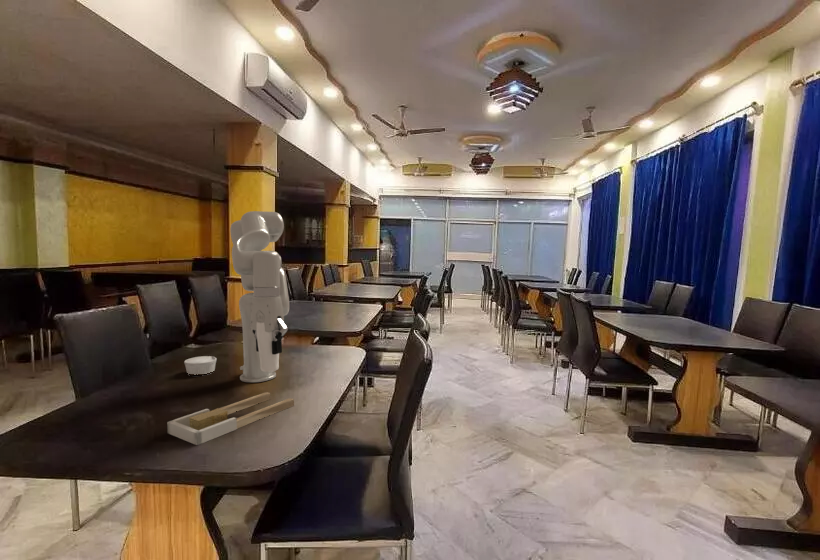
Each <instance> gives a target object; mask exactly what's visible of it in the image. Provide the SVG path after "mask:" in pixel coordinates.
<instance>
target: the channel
mask: <svg viewBox="0 0 820 560" xmlns="http://www.w3.org/2000/svg"><path fill="white" fill-rule="evenodd" d="M270 400H271V392H268V391H266V392H262V393H260V394H257V395H254V396H250V397H248V398H245V399H242V400H240V401H236V402H234V403H231V404H228V405H225V406H221V407H218V408H219V409H223V410H226V411H227V414H228V416H229V415H231V414H234V413H236V411H237V412H239V411H242V410H244V409H248V408H250V407H253V406H255V405H258V403H259V404H262V403H263V402H264V403H265V402H266V401H270ZM292 407H295V399H294V398H291V397H289V398H285V399H284V400H282V401H279V402H276V403H273V404H271V405H268V406H266V407H262V408H261V409H258V410H255V411H252V412H249V413H247V414H244V415H242V416H239V417H235V418H236V421H237V429H239V428H242V427H245V426H247V425H250V424H252V423H254V422H256V421H257V422H258V421H260V420H261V419H264V417H265V418H267V417H269V415H270V416H271V415H274V413H275V414H277V413H280V412H281V411H284V410H286V409H289V408H292ZM259 419H260V420H259Z"/></svg>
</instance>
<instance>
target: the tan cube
mask: <svg viewBox="0 0 820 560" xmlns="http://www.w3.org/2000/svg"><path fill="white" fill-rule="evenodd" d="M189 420H190V428H193V429H196V430H201V429H204V428H206V427H209V426H212V425H213V415H209V414H206V413H201V414H199V415H196V416H193V417H190V418H189Z"/></svg>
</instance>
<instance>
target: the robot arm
mask: <svg viewBox="0 0 820 560" xmlns="http://www.w3.org/2000/svg"><path fill="white" fill-rule="evenodd" d="M284 225H285V224H284V219H283V217H282V215H281V214H280V213H278V212H276V211H261V210H260V211H256V210H253V211H247V212H245V213H244V214H243V215H241V218H240V220H236V221H234V222H233V223H231V225H230V231H229V233H230V238H231V242H232V247H231V259H232V266H233V270H234V272H235V273H236V274H237V275H239V276H240V279H241V286H242V288H243V290H245V291H247V292H248V293H245V294H243V295H241V297H240V298H239V300H238V306H239V307H238V308H239V312H240V313H239V314H240V318H241V325H242V327H241V328H242V346H243V347H242V349H243V365H241V366H239V369H240V371H241V370H242V374H241V375H240V376H239V380H240V381H241V382H244V383H261V382H267V381H271V380H273V379H274V378H276V376H277V372H276V371H272V372H263V371H261V369H260V358H259V350H258V342H257V332H256V326H257V322H261V323H264V326H265V331H266V332H272V338H273V340H274V341H272V354H278V353H279V354H281V353H282V352H283V346H282V345H283V344H282V343H283V342H282V341H283V340H284V336H285V335H286V333H287V332H288V330H289V328H288V327H287V325H286V324H285V316H287V315H288V314H289V311H290V297H289V290H288V284H287V276H286V272H285V269H284V268H283V267H282V265H283V264H282V257H281V255H280V254H279V253H278V252H277V251H275V250H265V249H266V248H267V247H268V246H269V245H270V243H275V242H277V241H278V240H280V238H281V236H282V235H283V232H284V230H285V229H284V228H285V226H284ZM277 324H278V329H277V330H275V329H276V326H277ZM275 332H278V334H277V335H276V334H275Z"/></svg>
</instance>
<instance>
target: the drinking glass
mask: <svg viewBox="0 0 820 560" xmlns="http://www.w3.org/2000/svg"><path fill="white" fill-rule="evenodd" d="M277 329H278V324H277V326H276V329H275V330H277ZM256 332H257V342H258V350H259V358H260V369H261V371H263V372H272V371H274V372H276V371H277V370H279V368H280V363H279V361H280V353H278V354H272V341H274V340H273V338H272V332H266V331H265V326H264V323H261V322H257V326H256ZM275 334H276V335H277V334H278V332H275Z"/></svg>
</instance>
